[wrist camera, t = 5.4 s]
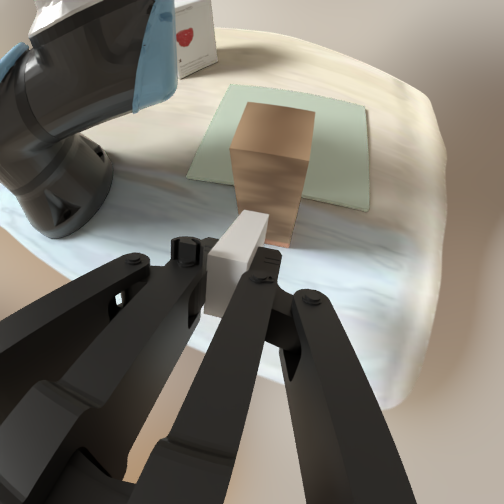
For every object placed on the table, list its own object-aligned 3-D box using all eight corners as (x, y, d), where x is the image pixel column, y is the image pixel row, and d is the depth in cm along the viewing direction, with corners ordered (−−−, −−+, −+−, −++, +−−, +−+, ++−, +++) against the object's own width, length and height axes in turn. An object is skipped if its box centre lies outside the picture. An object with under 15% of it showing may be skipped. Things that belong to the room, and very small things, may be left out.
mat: (187, 178, 33) (186, 175, 32) (230, 86, 40) (230, 84, 39) (367, 212, 30) (369, 209, 30) (363, 109, 37) (364, 106, 37)
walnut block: (242, 239, 29) (229, 148, 16) (252, 199, 31) (247, 101, 18) (288, 248, 29) (309, 161, 16) (295, 207, 31) (315, 111, 18)
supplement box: (179, 80, 41) (163, 11, 27) (157, 68, 44) (141, 8, 30) (219, 61, 43) (212, -4, 29) (194, 51, 46) (184, -7, 32)
